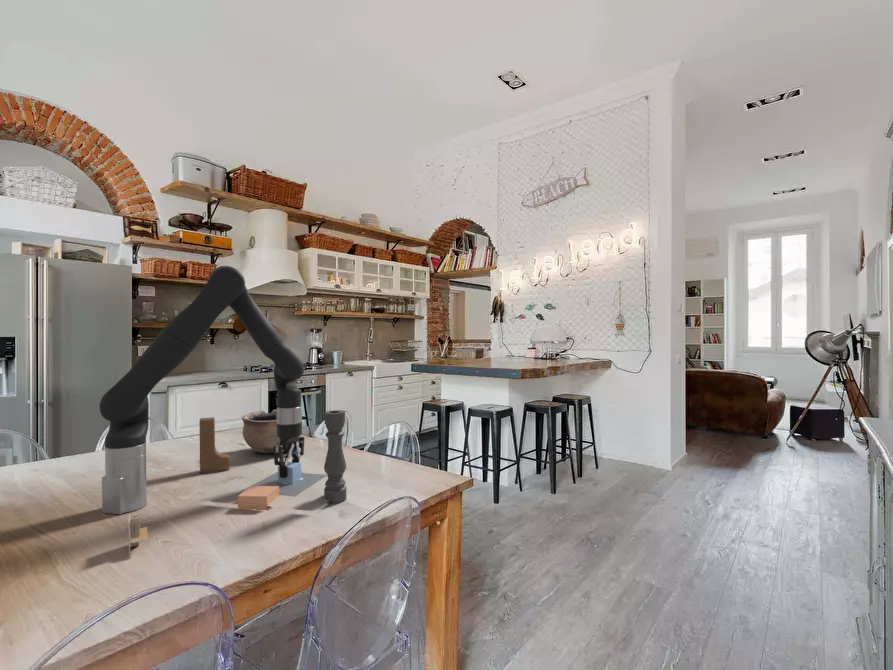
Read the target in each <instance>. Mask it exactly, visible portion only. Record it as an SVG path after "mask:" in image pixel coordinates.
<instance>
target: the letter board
mask: <svg viewBox="0 0 893 670" xmlns="http://www.w3.org/2000/svg"><path fill="white" fill-rule="evenodd" d="M327 476H328V475H327V474H321V473H320V474H319V473H308V472H307V473H306V472H301V479H300V480H298V481H297V482H295V483H293V484H288V483H278V471H277V472H275V473H272V474H271V475H269V476H267V477H265V478H264V479H261V480H259V481H258V482H256V483H254V484H251V485H250V486H248V487H245V488H244V489H242V490H240V493H243V492H244V491H245V490H247V489H248V488H249V487H251V486H279V496H281V497H282V496H283V497H297V496H298V495H300V494H301V493H303V492H304V491H306V490H307V489H309V488H310V487H312V486H314V485H315V484H316V483H318V482H320V481H322V480H324V478H326V477H327Z"/></svg>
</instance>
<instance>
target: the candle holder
mask: <svg viewBox="0 0 893 670" xmlns="http://www.w3.org/2000/svg"><path fill="white" fill-rule="evenodd" d="M345 423H346V411H345V410H339V409H337V410H328V411H325V412H324V425H325V427H326V430H327V432H326V433H325V437H327V447H328V448H327V453H326V457H325V460H324V466H323V469H324V472H325V475H327V476H326V477H327V480H326V481H325V483H324V485H325V486H324V488H323V497H324V499H326V500H328V501H327V502H326V503H327V504H334V505H335V504H340V503H344V502H346V500H347V496H348V495H347V493H348V492H347V486H346V483H347V482H346V480H345V479H344V473H345V472H346V469H347V463H346V458H345V453H344V450H343V438H344V436H345V432H344V430H343V429H344V427H345Z"/></svg>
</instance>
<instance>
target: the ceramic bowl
mask: <svg viewBox="0 0 893 670" xmlns="http://www.w3.org/2000/svg"><path fill="white" fill-rule="evenodd" d="M241 419H242V422H243V427H242V437H243V439H244V441H245V442H246V444H247V445H248V447H250V448H251V449H252V450H253V451H255V452H257V453H259V454H274V450H273V447H274V446H278V445H279V444H280V438H279V437H277V409H275V408H274V409H273V410H272V411H271V412H270V413H267V412H265V411H264V410H257V411H256V410H255V411H251V412H249V413H247V414H244V415H242V417H241Z"/></svg>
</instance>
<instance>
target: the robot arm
mask: <svg viewBox="0 0 893 670" xmlns="http://www.w3.org/2000/svg"><path fill="white" fill-rule="evenodd" d="M253 299H254V298H252V295H250V292H249V290H248V289H247V286H246V280H245V277H244V275H243V274H242V273H241V271H239V270H238V269H237V268H235V267H233V266H230V265H229V266H228V265H220V266H217V267H216V268H214V269H213V270H212V271H211V273H210V274H209V278H208V280H207V281H206V283H205V285H204V286H203V288H202V289H201V290H200V292H199V293H198V295H197V296H196V297H195V299H194V300H193V301H192V302H190V304H189V305H188V306H186V307H185V308H183V310H181V311H180V312H179V313H177V315H176V316H174V317H173V318H172V319H171V320H169V322H168V323H167V324H166V325H165V326H164V327H163V328H162V330H161V331H160V332H159V333H158V334H157V335H156V337H155V338H154V339H153V341H152V342H151V343H150V344H149V346H148V347H147V348H146V349H145V351H143V353H142V354H141V355H140V357H139V359H138V360H137V361H136V363H134V365H133V366H132V367H131V368H130V370H129V371H128V372H127V373H125V374H124V376H123V377H121V378H120V380H118V381H117V382H116V383H115V384H114V385H113V386H112V387H110V388H109V390H107V391H106V392H105V393H104V395H103V396H102V397H101V399H100V403H99V413H100V414H101V416H102V417H103V419H105V420H106V421H108V422H109V429H108V432H107V433H106V435H105V437H104V463H105V464H104V466H105V467H104V468H105V469H104V470H105V471H104V473H105V475H103V476H102V477H101V511H102V513H106V514H115V515H123V514H125V513H129V512H134V511H137V510H140V509H142V508H144V507H146V506H147V503H148V501H147V500H148V499H147V496H148V495H147V493H148V490H147V489H148V488H147V486H148V485H147V433H148V432H149V431H148V430H149V419H150V418H149V415H150V414H149V411H150V410H149V409H150V407H149V406H150V404H149V403H150V402H149V398H148V397H149V394H150V393H152V390H154V388H155V387H156V386H157V384H158V383H160V382H161V381H162V380H163V379H164V378H166V376H168V375H169V374H170V373H171V372H172V371H174V370H175V369H176V368H178V366H180V365H181V364H182V363H183V362H184V361H185V360H186V359H187V358H188V357H189V356H190V354H191V353H192V352H193V350H194V349H196V347H197V345H198V344H199V343H200V342H201V340H202V339H203V338H204V337H205V335H206V334H207V333H208V331H209V329H210V328H211V326H212V325H213V324H214V322H215V321H216V319H217V318H218V317H219V316H220V314H221V315H222V313H223V311H225V310H226V309H227V307H230V308H231V309H232V310H233V312H234V313H235V314H236V315H237V317H238V318H239V320H240V322H241V323H242V325H243V326H244V328H245V330H246V331H247V332H248V335H250V336H249V337H251V339H252V340H253V341H254V343H255V345H256V346H257V347H258V348H259V350H260V351H261V353H262V354H263V355H264V356H265V358H267V359H270V360H271V361H272V363H273V364H274V367H273V377H274V384H275V387H276V388H275V389H276V393H277V394H276V395H277V397H276V399H277V401H276V402H277V406H276V407H277V437H279V438H280V444H279V445H278V446H274V447H273V450H274V453H273V463H274V465H275V466H279V471H280V478H286V477H287V463H288V462H289V459H291V462H293V463H300V460H301V457H302V456H304V454H305V437H304V436H302V435H303V411H302V392H301V389H300V388H299V387H298V386H297V380H299V379H301V377H302V376H303V374H304V372H305V365H304V364H303V362H302V360H301V358H300V357H299V356H298V355H297V354H296V353H295V352H294V351H293V350H292V348H291V347H290V346H288V344H286V342H285V341H284V339H283V337H282V336H281V335H280V334H279V333H280V332H278V331H277V329H276V328H275V326H274V325H273V324H272V322H271V321H270V320H269V319H268V317H267V316H266V315H265V314H264V313H263V312H262V310H261V309H260V308H259V305H257V304H256V302H255V301H254V300H253Z"/></svg>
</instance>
